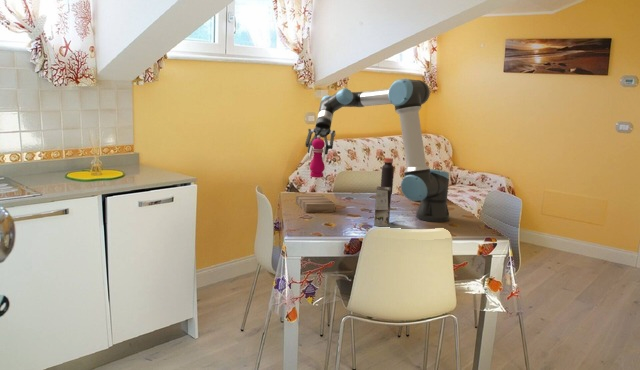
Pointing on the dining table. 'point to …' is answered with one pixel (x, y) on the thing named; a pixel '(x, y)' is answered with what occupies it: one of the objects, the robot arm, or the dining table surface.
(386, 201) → the coffee box
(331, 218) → the dining table surface
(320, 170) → the pepper mill
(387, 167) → the bottle
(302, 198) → the wooden slatted trivet
